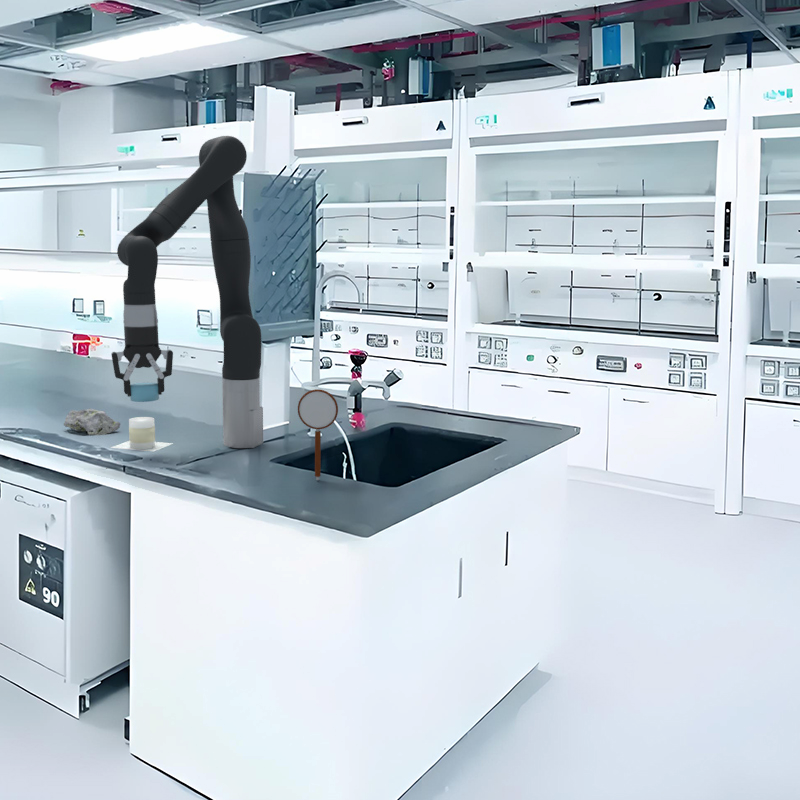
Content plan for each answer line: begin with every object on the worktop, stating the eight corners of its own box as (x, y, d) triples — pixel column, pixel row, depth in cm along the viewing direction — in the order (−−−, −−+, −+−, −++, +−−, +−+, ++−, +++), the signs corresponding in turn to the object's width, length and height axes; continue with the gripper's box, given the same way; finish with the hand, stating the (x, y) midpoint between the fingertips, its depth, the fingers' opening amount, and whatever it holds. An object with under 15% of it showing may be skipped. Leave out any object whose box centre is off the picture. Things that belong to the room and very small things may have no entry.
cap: (164, 397, 204) (163, 383, 203) (149, 402, 198) (149, 387, 197) (139, 396, 206) (139, 382, 205) (125, 401, 200) (124, 386, 199)
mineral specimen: (54, 433, 228) (53, 408, 227) (73, 428, 235) (72, 404, 234) (102, 438, 223) (101, 413, 222) (120, 433, 229) (119, 408, 228)
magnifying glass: (297, 481, 185) (297, 389, 182) (298, 479, 187) (298, 388, 184) (337, 482, 185) (337, 390, 182) (338, 480, 187) (338, 389, 183)
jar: (160, 445, 214) (159, 417, 213) (147, 450, 208) (146, 422, 207) (138, 443, 216) (137, 416, 215) (124, 448, 210) (123, 420, 209)
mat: (173, 444, 217) (173, 443, 217) (153, 453, 208) (153, 451, 208) (131, 441, 220) (131, 439, 220) (110, 449, 211) (110, 447, 211)
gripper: (171, 321, 205) (174, 390, 208) (107, 323, 200) (111, 394, 203) (174, 324, 198) (177, 396, 201) (108, 326, 193) (112, 399, 196)
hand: (144, 394), depth 202 cm, fingers closed on cap, 6 cm apart
